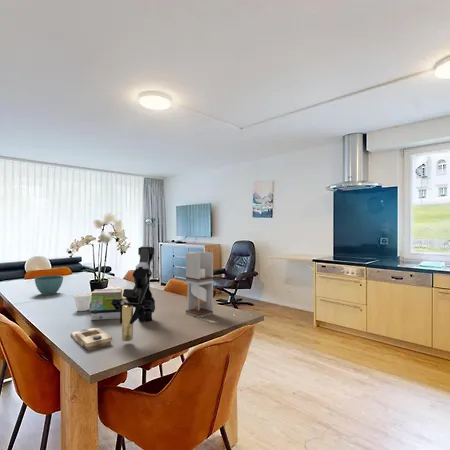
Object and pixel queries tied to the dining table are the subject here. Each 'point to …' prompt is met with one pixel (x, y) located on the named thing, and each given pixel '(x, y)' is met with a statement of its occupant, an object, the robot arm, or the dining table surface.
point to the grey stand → (199, 283)
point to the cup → (82, 301)
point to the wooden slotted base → (92, 338)
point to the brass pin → (127, 322)
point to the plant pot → (48, 284)
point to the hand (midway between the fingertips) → (125, 323)
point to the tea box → (104, 304)
